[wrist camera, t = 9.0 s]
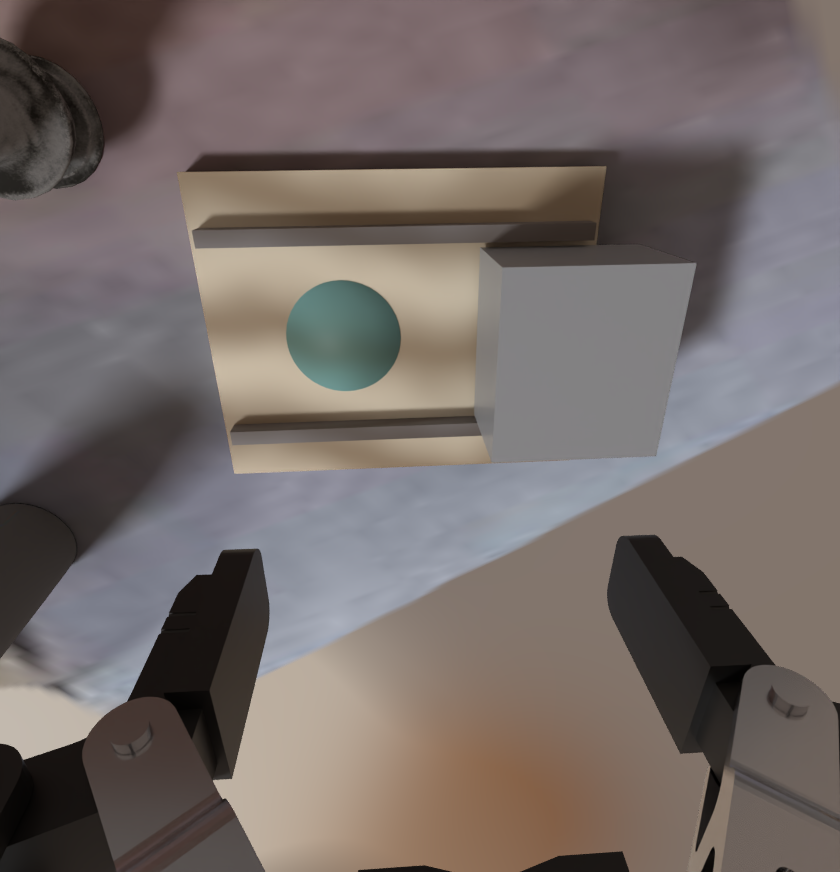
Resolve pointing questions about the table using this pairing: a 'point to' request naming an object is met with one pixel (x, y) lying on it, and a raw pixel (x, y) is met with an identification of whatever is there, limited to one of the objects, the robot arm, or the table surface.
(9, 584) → the bottle
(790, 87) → the table surface
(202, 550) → the table surface
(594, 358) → the cover
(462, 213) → the board
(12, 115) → the salt shaker
